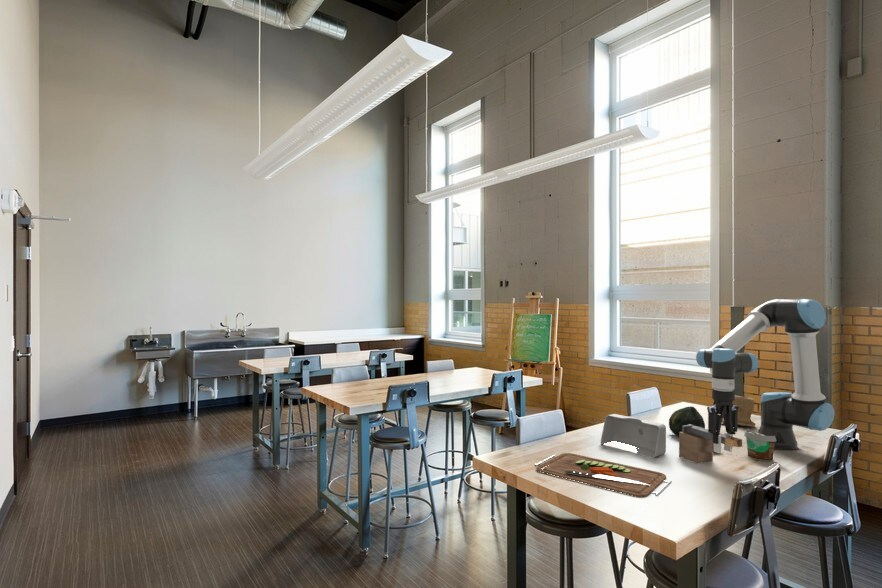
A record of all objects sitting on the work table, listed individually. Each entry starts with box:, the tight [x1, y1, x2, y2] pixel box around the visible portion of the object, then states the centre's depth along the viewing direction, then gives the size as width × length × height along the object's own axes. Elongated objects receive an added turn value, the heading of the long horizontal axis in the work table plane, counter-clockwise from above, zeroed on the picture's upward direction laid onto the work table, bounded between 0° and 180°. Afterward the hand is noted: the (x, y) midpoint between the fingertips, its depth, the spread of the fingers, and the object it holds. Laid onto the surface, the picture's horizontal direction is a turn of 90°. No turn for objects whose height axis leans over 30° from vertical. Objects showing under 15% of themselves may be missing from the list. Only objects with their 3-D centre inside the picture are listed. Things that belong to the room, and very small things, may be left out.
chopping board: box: [534, 452, 672, 498], centre depth 184 cm, size 45×27×3 cm, turn 51°
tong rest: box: [678, 425, 743, 464], centre depth 195 cm, size 8×23×13 cm, turn 20°
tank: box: [600, 413, 667, 459], centre depth 217 cm, size 25×16×12 cm, turn 39°
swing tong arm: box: [686, 424, 737, 448], centre depth 194 cm, size 2×21×3 cm, turn 20°
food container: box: [744, 428, 776, 462], centre depth 204 cm, size 12×6×10 cm, turn 21°
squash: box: [668, 405, 706, 437], centre depth 235 cm, size 14×15×15 cm
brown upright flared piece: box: [722, 394, 756, 427], centre depth 257 cm, size 15×12×15 cm
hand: (722, 451), depth 190 cm, fingers open, 5 cm apart
